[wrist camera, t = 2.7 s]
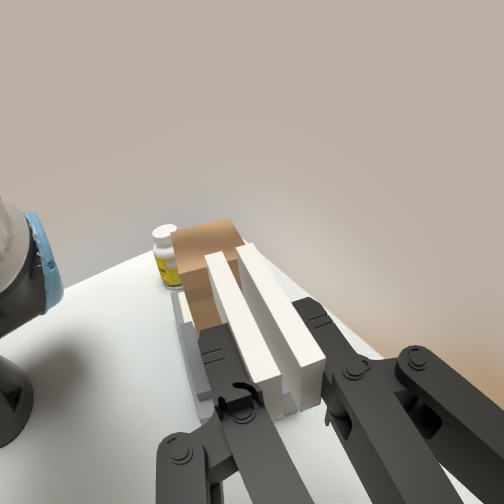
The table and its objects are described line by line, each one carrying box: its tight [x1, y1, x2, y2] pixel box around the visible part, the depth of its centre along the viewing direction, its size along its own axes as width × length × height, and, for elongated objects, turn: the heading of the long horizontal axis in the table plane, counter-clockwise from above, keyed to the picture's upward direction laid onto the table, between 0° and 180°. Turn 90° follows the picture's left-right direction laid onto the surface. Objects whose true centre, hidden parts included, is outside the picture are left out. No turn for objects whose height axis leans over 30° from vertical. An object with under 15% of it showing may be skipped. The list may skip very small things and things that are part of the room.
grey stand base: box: [171, 290, 298, 426], centre depth 37 cm, size 20×10×6 cm, turn 18°
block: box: [170, 218, 252, 337], centre depth 28 cm, size 6×5×15 cm
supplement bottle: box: [152, 224, 183, 289], centre depth 51 cm, size 5×5×10 cm
